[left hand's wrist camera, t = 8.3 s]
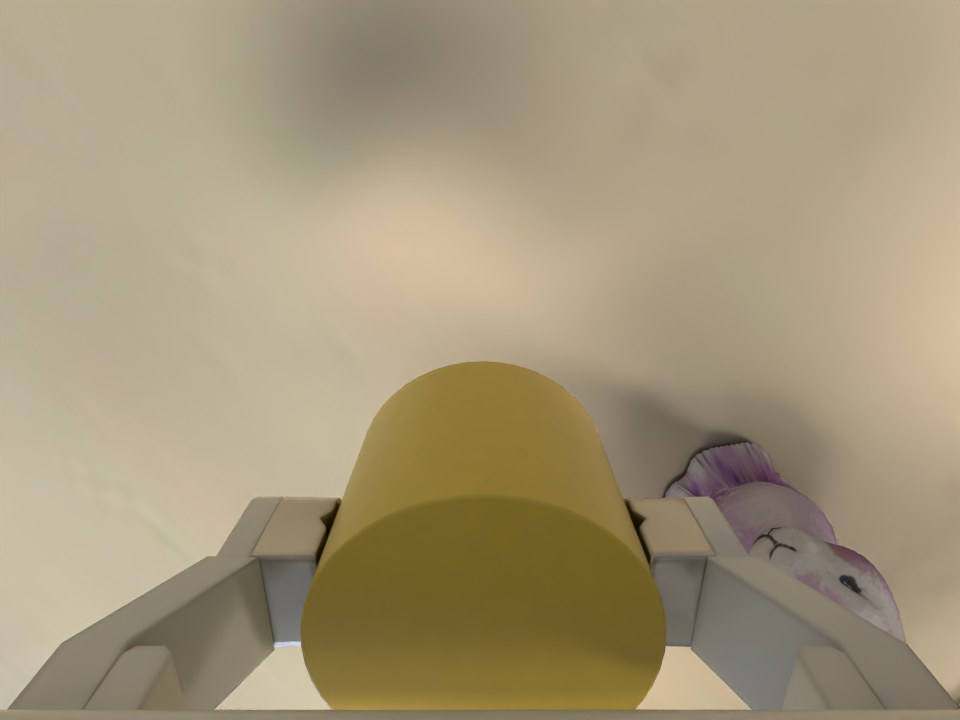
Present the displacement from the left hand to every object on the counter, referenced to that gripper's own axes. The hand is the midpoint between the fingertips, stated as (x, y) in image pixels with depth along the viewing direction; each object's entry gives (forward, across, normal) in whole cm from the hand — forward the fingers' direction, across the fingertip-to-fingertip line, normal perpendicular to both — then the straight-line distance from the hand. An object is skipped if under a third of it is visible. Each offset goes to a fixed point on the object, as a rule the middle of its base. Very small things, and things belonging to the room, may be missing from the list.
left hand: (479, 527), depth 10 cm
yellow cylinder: (+2, 0, 0) cm, 2 cm away
